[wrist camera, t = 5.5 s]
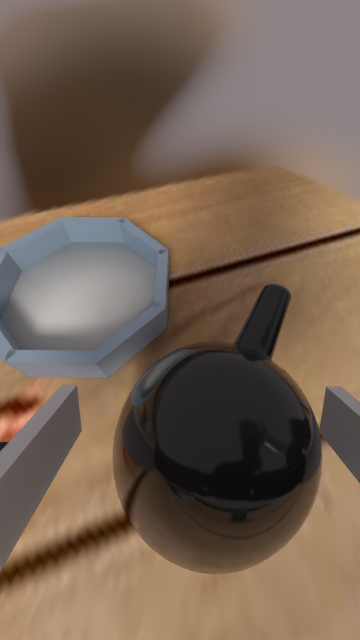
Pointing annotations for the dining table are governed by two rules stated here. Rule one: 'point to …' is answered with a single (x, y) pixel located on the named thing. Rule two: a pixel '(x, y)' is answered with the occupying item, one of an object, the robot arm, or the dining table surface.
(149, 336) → the bowl
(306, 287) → the dining table surface
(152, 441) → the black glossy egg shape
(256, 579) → the dining table surface
